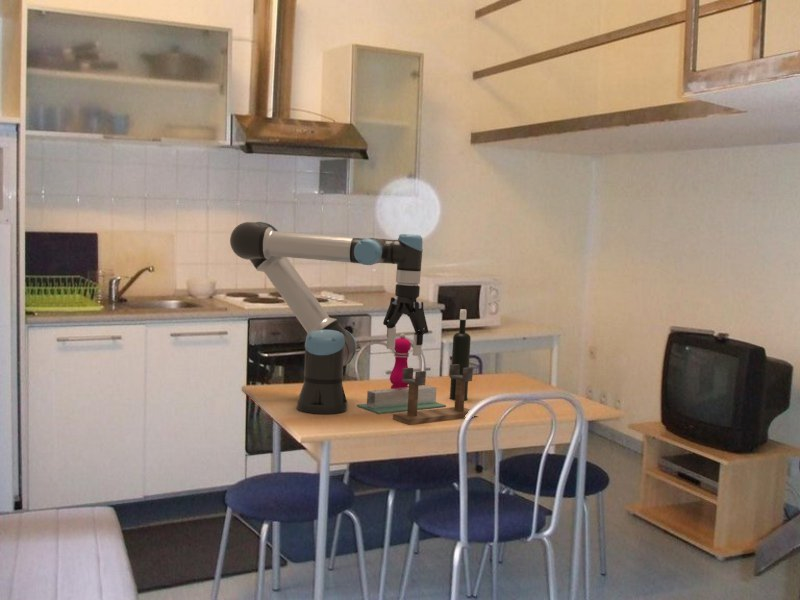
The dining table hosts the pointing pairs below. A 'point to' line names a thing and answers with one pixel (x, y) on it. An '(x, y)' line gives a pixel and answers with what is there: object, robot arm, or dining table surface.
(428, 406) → the mat
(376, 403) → the rail
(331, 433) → the dining table surface
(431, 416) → the hook stand
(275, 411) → the dining table surface
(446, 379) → the dining table surface
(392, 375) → the pepper mill
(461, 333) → the wine bottle
